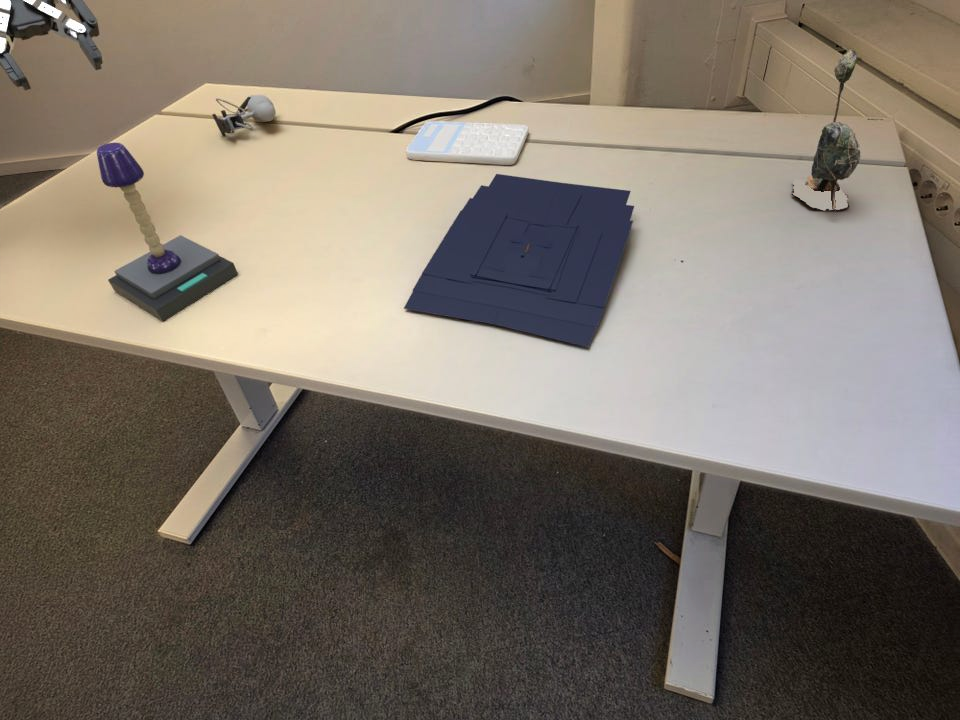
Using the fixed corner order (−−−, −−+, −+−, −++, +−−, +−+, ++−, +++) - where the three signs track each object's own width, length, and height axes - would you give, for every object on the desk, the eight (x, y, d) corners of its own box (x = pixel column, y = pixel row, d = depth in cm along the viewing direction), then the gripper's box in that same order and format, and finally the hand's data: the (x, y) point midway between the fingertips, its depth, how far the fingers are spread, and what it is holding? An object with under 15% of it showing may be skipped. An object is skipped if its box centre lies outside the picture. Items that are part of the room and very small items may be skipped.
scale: (162, 321, 78) (152, 303, 76) (114, 291, 84) (103, 273, 82) (238, 274, 85) (231, 256, 83) (189, 249, 90) (181, 232, 88)
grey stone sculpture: (786, 216, 87) (834, 69, 73) (790, 178, 94) (835, 39, 80) (849, 224, 84) (911, 74, 70) (848, 186, 91) (905, 43, 77)
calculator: (515, 166, 103) (515, 156, 101) (404, 160, 107) (402, 150, 106) (530, 132, 112) (529, 122, 110) (427, 128, 116) (425, 118, 115)
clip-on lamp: (218, 131, 129) (227, 143, 114) (203, 100, 125) (210, 109, 111) (271, 112, 131) (285, 121, 117) (257, 81, 128) (271, 87, 114)
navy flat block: (642, 208, 88) (644, 187, 85) (590, 362, 71) (591, 342, 68) (486, 187, 95) (484, 167, 93) (405, 322, 78) (399, 303, 76)
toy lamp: (177, 250, 85) (121, 134, 73) (191, 264, 82) (134, 145, 70) (143, 265, 82) (80, 148, 71) (156, 279, 80) (92, 160, 68)
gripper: (52, -32, 80) (123, 77, 82) (-72, -8, 74) (8, 110, 75) (40, -78, 74) (118, 41, 75) (-96, -56, 67) (-8, 74, 69)
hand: (63, 76), depth 75 cm, fingers open, 8 cm apart
